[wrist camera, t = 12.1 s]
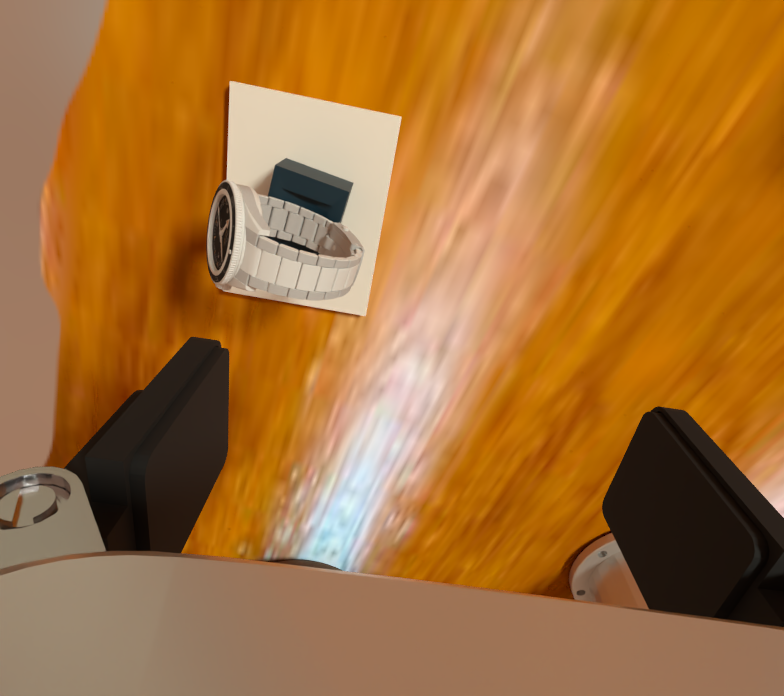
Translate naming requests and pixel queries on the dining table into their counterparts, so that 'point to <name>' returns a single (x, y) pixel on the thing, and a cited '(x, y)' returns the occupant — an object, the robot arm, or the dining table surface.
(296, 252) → the watch
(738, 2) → the dining table surface
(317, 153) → the pad
